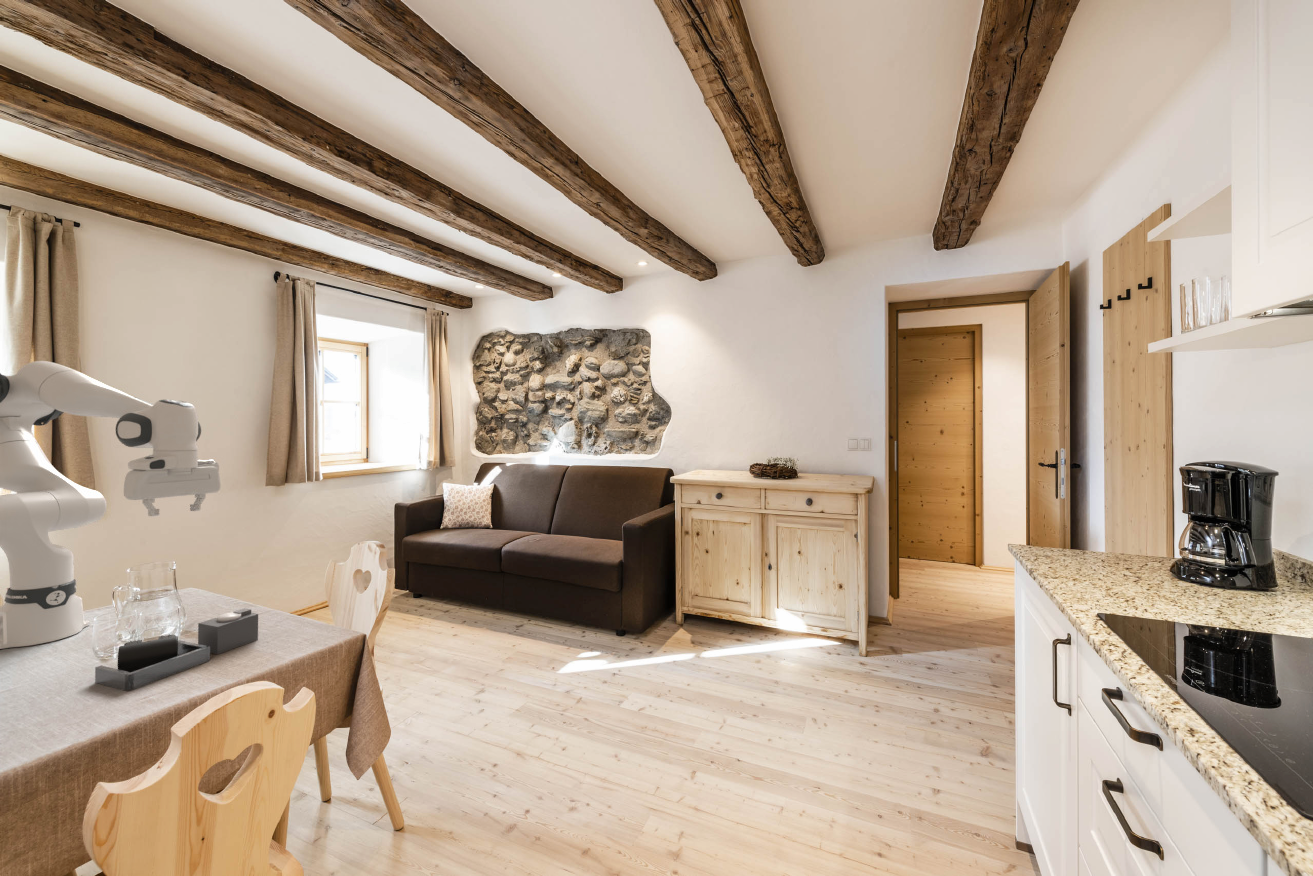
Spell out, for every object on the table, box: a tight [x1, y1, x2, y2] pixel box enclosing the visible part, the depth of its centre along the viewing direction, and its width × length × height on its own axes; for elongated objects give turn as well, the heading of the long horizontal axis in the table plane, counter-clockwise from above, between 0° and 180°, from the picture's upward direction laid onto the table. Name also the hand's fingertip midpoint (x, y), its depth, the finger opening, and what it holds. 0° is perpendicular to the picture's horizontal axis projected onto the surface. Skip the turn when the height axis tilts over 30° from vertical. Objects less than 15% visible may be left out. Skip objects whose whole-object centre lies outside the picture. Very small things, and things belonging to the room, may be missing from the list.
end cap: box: [117, 633, 179, 672], centre depth 124 cm, size 10×7×7 cm
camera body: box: [197, 607, 259, 655], centre depth 138 cm, size 7×10×8 cm
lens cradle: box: [94, 639, 211, 692], centre depth 122 cm, size 11×16×4 cm
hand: (175, 513), depth 139 cm, fingers open, 8 cm apart
